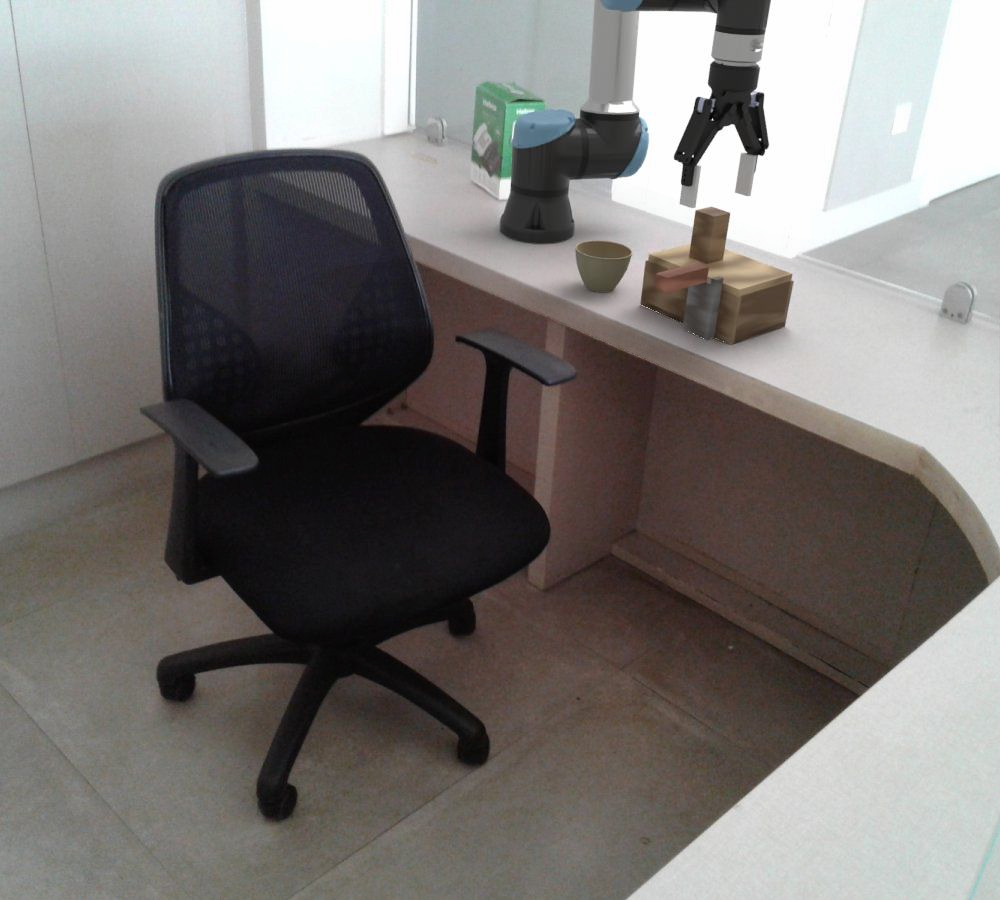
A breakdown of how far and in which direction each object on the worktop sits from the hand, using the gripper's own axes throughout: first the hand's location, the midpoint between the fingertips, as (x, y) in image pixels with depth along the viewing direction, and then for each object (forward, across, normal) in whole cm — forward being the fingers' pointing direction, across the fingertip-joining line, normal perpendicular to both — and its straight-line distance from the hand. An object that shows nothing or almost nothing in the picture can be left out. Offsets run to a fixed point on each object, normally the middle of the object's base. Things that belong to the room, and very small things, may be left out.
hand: (715, 200), depth 170 cm
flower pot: (+19, -7, +18) cm, 27 cm away
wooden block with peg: (+11, 0, -3) cm, 11 cm away
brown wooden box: (+19, 0, -2) cm, 19 cm away
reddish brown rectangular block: (+10, -14, -7) cm, 18 cm away
